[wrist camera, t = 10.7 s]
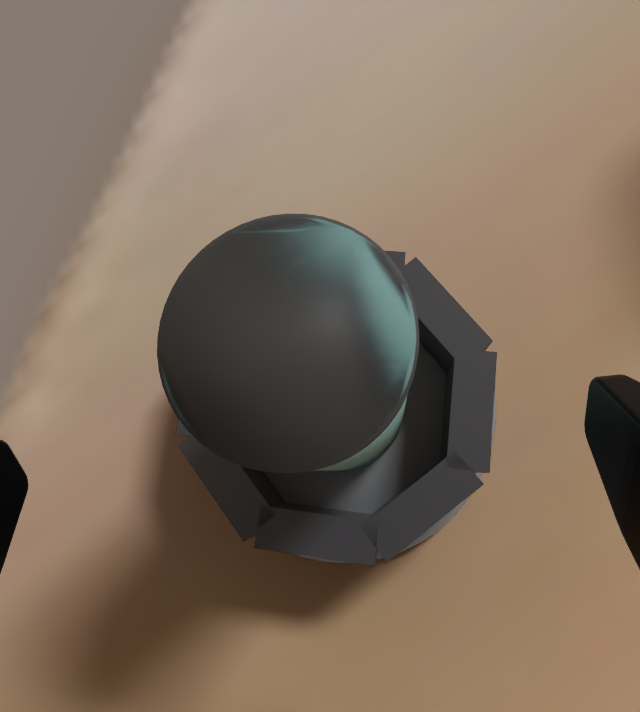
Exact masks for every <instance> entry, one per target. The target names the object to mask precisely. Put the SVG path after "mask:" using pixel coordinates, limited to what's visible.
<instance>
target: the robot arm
mask: <svg viewBox="0 0 640 712" xmlns="http://www.w3.org/2000/svg"><path fill="white" fill-rule="evenodd" d="M584 425H585V434H586V438H587V441H588V444H589V446H590V449H591V452H592V455H593V457H594V460H595V463H596V466H597V468H598V471H599V474H600V476H601V479H602V482H603V485H604V487H605V490H606V493H607V496H608V498H609V501H610V504H611V506H612V509H613V512H614V515H615V517H616V520H617V522H618V525H619V527H620V530H621V532H622V534H623V537H624V539H625V541H626V543H627V545H628V547H629V549H630V551H631V553H632V555H633V557H634V559H635V561H636V563H637V565H638V567H639V569H640V382H638V381H636V380H634V379H632V378H630V377H628V376H625V375H610V376H601V377H595V378H594V379H593V380H592V381H591V383H590V385H589V391H588V399H587V407H586V414H585V423H584ZM27 490H28V479H27V476H26V474H25V472H24V470H23V469H22V467H21V465H20V464H19V462H18V460H17V459H16V457H15V455H14V454H13V452H12V450H11V449H10V447H9V445H8V444H7V443H6V442H4V441H3V440H0V573H1V570H2V567H3V565H4V562H5V558H6V555H7V552H8V549H9V546H10V543H11V540H12V537H13V534H14V531H15V528H16V525H17V522H18V519H19V516H20V512H21V509H22V506H23V503H24V500H25V497H26V494H27Z"/></svg>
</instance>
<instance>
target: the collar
mask: <svg viewBox="0 0 640 712" xmlns="http://www.w3.org/2000/svg"><path fill="white" fill-rule="evenodd" d="M385 252H386V254H387V255H388V256H389V257H390V258H391V259H392V260H393V262H394V263H395V264H396V266H397V267H398V269H399V270H400V271H401V273H402V275H403V277H404V279H405V281H406V282H407V284H408V286H409V289H410V292H411V294H412V297H413V300H414V303H415V307H416V312H417V316H418V324H419V353H418V359H417V364H416V369H415V374H414V378H413V381H412V384H411V387H410V390H409V393H408V395H407V400H406V405H405V410H404V416H403V421H402V425H401V428H400V431H399V433H398V435H397V437H396V439H395V441H394V442H393V444H392V445H391V446H390V448H389V449H388V450H387V451H386V452H385V453H384V454H383V455H382V456H380V457H379V458H378V459H376V460H375V461H373V462H372V463H370V464H368V465H366V466H364V467H361V468H357V469H353V470H348V471H316V470H313V471H307V472H296V473H274V472H264V471H258V470H254V469H250V468H245V467H242V466H240V465H237V464H235V463H232V462H229V461H227V460H225V459H223V458H222V457H220V456H218V455H216V454H215V453H213V452H211V451H210V450H209V449H207V448H206V447H205V446H203V445H202V444H201V443H200V442H198V441H197V440H196V439H195V438H194V437H193V436H192V435H191V434H190V433H189V432H188V431H187V429H186V428H185V427H184V425H183V424H182V423H181V421H180V420H179V419H178V424H177V430H176V435H181V436H187V437H189V438H188V439H186V440H185V441H184V442H183V443H181V444H180V445H179V446H178V447H179V448H180V450H181V451H182V452H183V454H184V455H185V457H186V458H187V460H188V461H189V463H190V464H191V465H192V467H193V468H194V470H195V471H196V473H197V474H198V476H199V477H200V479H201V480H202V481H203V483H204V484H205V486H206V487H207V489H208V490H209V492H210V493H211V495H212V496H213V497H214V499H215V500H216V502H217V503H218V505H219V506H220V508H221V509H222V510H223V512H224V513H225V515H226V516H227V518H228V519H229V521H230V522H231V524H232V525H233V526H234V528H235V529H236V531H237V532H238V534H239V535H240V537H241V538H242V540H243V541H246V540H248V539H250V538H252V537H254V536H256V539H255V546H254V548H258V549H265V550H271V551H278V552H284V553H291V554H295V555H298V556H301V557H304V558H309V559H313V560H318V561H322V562H334V563H357V564H364V565H370V566H375V562H376V559H381V558H384V559H385V561H386V562H389V561H390V560H391V559H392V558H394V557H395V556H396V555H397V554H399V553H400V552H403V551H405V550H407V549H409V548H411V547H413V546H415V545H417V544H419V543H421V542H423V541H424V540H425V539H427V538H428V537H430V536H431V535H433V534H434V533H435V532H437V531H438V530H440V529H441V528H442V527H443V526H444V525H445V524H446V523H447V522H448V521H449V520H450V519H451V518H453V517H454V516H455V515H456V513H457V512H458V511H459V510H460V508H461V507H462V506H463V505H464V504H465V502H466V501H467V500H468V499H469V497H470V495H471V494H472V493H473V492H475V491H476V490H477V489H478V488H480V487H481V486H482V485H483V483H482V482H481V480H480V478H481V475H482V473H490V456H491V447H492V443H493V437H494V429H495V395H494V391H495V375H496V359H497V352H488V351H486V349H487V348H488V347H489V345H490V344H491V343H492V339H491V338H490V337H489V336H488V335H487V334H486V333H485V332H484V331H483V330H482V329H481V328H480V326H479V325H478V324H477V323H476V322H475V321H474V320H473V319H472V318H471V317H470V316H469V314H468V313H467V312H466V311H465V310H464V309H463V308H462V307H461V306H460V305H459V304H458V302H457V301H456V300H455V299H454V298H453V297H452V296H451V295H450V294H449V293H448V292H447V290H446V289H445V288H444V287H443V286H442V285H441V284H440V283H439V282H438V281H437V280H436V278H435V277H434V276H433V275H432V274H431V273H430V272H429V271H428V270H427V269H426V268H425V267H424V265H423V264H422V263H421V262H420V261H419V260H418V259H417V258H416V257H415V258H414V259H413V260H411V261H410V262H409V263H408V264H406V265H405V252H395V251H385Z"/></svg>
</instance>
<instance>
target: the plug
mask: <svg viewBox="0 0 640 712" xmlns="http://www.w3.org/2000/svg"><path fill="white" fill-rule="evenodd" d="M418 353H419V324H418V316H417V312H416V307H415V303H414V300H413V297H412V294H411V292H410V289H409V286H408V284H407V282H406V281H405V279H404V277H403V275H402V273H401V271H400V270H399V269H398V267H397V266H396V264H395V263H394V262H393V260H392V259H391V258H390V257H389V256H388V255H387V254H386V252H385V251H384V250H383V249H382V248H381V247H380V246H379V245H377V244H376V243H375V242H374V241H372V240H371V239H370V238H369V237H367V236H366V235H364V234H362V233H361V232H359V231H357V230H356V229H354V228H352V227H350V226H348V225H345V224H343V223H341V222H338V221H335V220H332V219H328V218H325V217H321V216H315V215H308V214H281V215H272V216H268V217H263V218H259V219H255V220H252V221H250V222H247V223H244V224H241V225H239V226H237V227H235V228H233V229H231V230H229V231H227V232H225V233H224V234H222V235H221V236H219V237H218V238H216V239H215V240H213V241H212V242H211V243H209V244H208V245H207V246H206V247H205V248H203V249H202V250H201V251H200V252H199V253H198V254H197V255H196V256H195V257H194V258H193V259H192V260H191V261H190V262H189V264H188V265H187V266H186V268H185V269H184V270H183V272H182V273H181V274H180V276H179V277H178V279H177V281H176V283H175V284H174V286H173V288H172V290H171V292H170V294H169V296H168V299H167V301H166V304H165V306H164V310H163V313H162V317H161V320H160V326H159V332H158V344H157V357H158V366H159V373H160V377H161V381H162V385H163V388H164V391H165V393H166V396H167V399H168V401H169V403H170V405H171V407H172V409H173V410H174V412H175V414H176V416H177V417H178V419H179V420H180V421H181V423H182V424H183V425H184V427H185V428H186V429H187V431H188V432H189V433H190V434H191V435H192V436H193V437H194V438H195V439H196V440H197V441H198V442H200V443H201V444H202V445H203V446H205V447H206V448H207V449H209V450H210V451H211V452H213V453H215V454H216V455H218V456H220V457H222V458H223V459H225V460H227V461H229V462H232V463H235V464H237V465H240V466H242V467H245V468H250V469H254V470H258V471H264V472H274V473H296V472H307V471H313V470H316V471H348V470H353V469H357V468H361V467H364V466H366V465H368V464H370V463H372V462H373V461H375V460H376V459H378V458H379V457H380V456H382V455H383V454H384V453H385V452H386V451H387V450H388V449H389V448H390V446H391V445H392V444H393V442H394V441H395V439H396V437H397V435H398V433H399V431H400V428H401V425H402V421H403V416H404V410H405V405H406V400H407V395H408V393H409V390H410V387H411V384H412V381H413V378H414V374H415V369H416V364H417V359H418Z"/></svg>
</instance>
